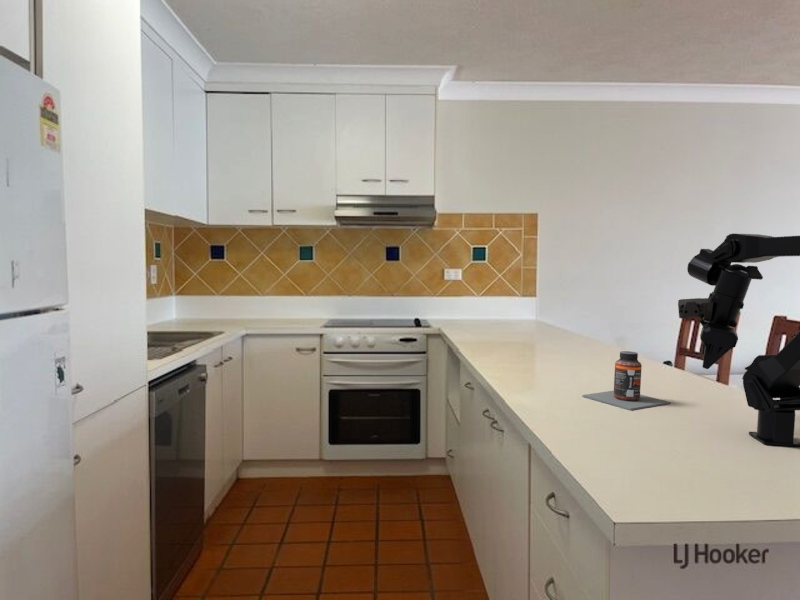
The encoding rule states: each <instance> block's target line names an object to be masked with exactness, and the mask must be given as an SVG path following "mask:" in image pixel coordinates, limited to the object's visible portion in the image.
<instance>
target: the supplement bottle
mask: <svg viewBox="0 0 800 600" xmlns="http://www.w3.org/2000/svg"><path fill="white" fill-rule="evenodd" d="M638 358H639V353H638V352H635V351H626V350H624V351H621V350H620V351H619V359H618V360H616V361H615V364H614V378H613V379H614V381H613V391H614V397H615V398H617V399H621V400H627V401H636V400H639V399H640V394H641V383H642V382H641V381H642V366H643V365H642V363H641V362H640V361H639V360H638Z"/></svg>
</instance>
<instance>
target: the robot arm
mask: <svg viewBox="0 0 800 600" xmlns="http://www.w3.org/2000/svg"><path fill="white" fill-rule="evenodd" d="M779 257H780V258H781V257H783V258H784V257H800V235H789V236H787V235H786V236H772V235H766V234H760V233H759V234H755V233H729V234H728V235H727V236H725V239H723V242H721V243H720V244H719V245H718V246H717V247H716V248H715V249H714V250H712V249H710V248H700V250H699V253H698V254H696V255H694V256H693V257H692V258H691V259H690V261H689V262H688V264H687V268H686V269H687V274H688V275H689V276H690V277H692V278H694V279H697V280H698V281H701V282H703V283H705V284H708V285H709V286H713V287H714V288H713V291H712V292H710V293H709V295H708V297H707V298H706V297H705V298H702V297H698V298H697V297H695V298H682V299H678V301H677V306H678V307H677V308H678V318H679V319H683V320H684V319H685V320H686V319H687V318H699V323H700V325H701V326H702V328H701V330H700V334H699V338H700V341H701V342H702V349H701V353H702V355H703V362H702V368H703V369H705V370H708V369H710V368H711V367H712V366H713V365H714V364H715V363H717V362H718V361H719V360H720V359H721V358H722V357H723V356H725V354H727V353H728V352H729V351H731V350H732V349H733V348H736V346H737V344H738V340H739V337H738V333H737V332H736V330H735V328H736V327H737V325H738V321H737V320H738V317H739V314H740V311H741V310H743V309H744V306H745V304H744V300H745V298H746V297H747V296H746V295H747V293H748V290H749V287H750V285H751V282H752V280H760V281H761V280H763V277H764V276H763V275H762V272H760V270H759V268H758V267H759V266H757V265H747V266H744V265H742V264H744V263H745V264H746V263H747V264H748V263H754V264H755V263H761V262H765V261H771V260H772V259H774V258H779ZM733 263H735V264H733ZM740 263H741V264H740ZM744 370H745V372H744V373H743V375H742V378H741V379H742V385H743V390H744V393H745V399H746V402H747V406H748V407H749V408H753V410H756V411H757V424H756V425H757V426H756V431H748V435H749V436H751V437H752V438H754V439H756V440H757V441H759V442H760V443H762V444H764V445H768V446H772V445H773V446H784V447H785V446H786V447H800V441H798V440H797V439H795V424H796V423H795V422H796V411H800V330H799V331H798V332H797V333H796V334H795V335H794V336H793V337H792V338H791V340H789V342H787V344H786V345H785V346H783V348H781V349H780V351H778V352H777V354H759V355H757V356H756V357H755V358H753V361H752V362H751V363H750V364H749V365H748V366H745V367H744Z"/></svg>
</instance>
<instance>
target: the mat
mask: <svg viewBox="0 0 800 600" xmlns="http://www.w3.org/2000/svg"><path fill="white" fill-rule="evenodd" d="M581 397H583V398H585V399H589V400H593V401H596V402H599V403H603V404H606V405H610V406H614V407H617V408H621V409H624V410H627V411H635V410H641V409H647V408H653V407H658V406H663V405H669V404H671V401H668V400H665V399H664V400H663V399H660V398H657V397H652V396H648V395H644V394H641V393H640V399H639V400H636V401H627V400H621V399H617V398H615V397H614V390H608V391H602V392H595V393H594V392H593V393H588V394H582V396H581Z"/></svg>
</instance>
